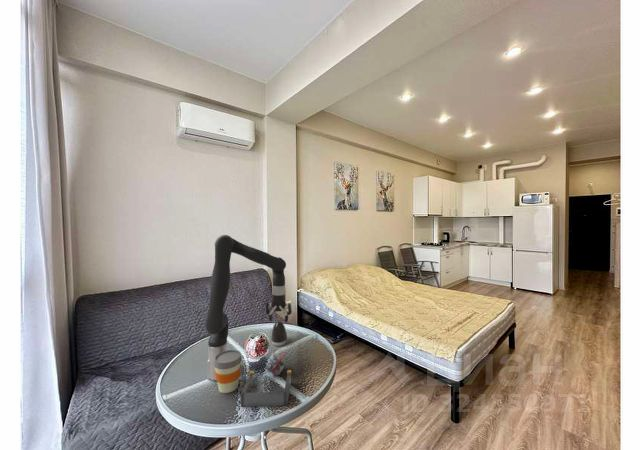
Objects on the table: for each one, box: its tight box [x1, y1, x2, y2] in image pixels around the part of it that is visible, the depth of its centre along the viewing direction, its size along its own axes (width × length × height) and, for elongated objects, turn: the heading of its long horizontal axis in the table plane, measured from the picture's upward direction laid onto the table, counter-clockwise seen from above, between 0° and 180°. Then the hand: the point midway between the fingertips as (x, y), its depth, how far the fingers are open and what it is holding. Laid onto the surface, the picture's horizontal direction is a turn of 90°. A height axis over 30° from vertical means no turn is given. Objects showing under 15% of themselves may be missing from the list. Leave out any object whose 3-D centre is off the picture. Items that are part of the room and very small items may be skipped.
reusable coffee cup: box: [214, 349, 243, 394], centre depth 123 cm, size 13×13×15 cm
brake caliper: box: [265, 352, 286, 376], centre depth 134 cm, size 11×11×12 cm
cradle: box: [240, 369, 292, 408], centre depth 118 cm, size 20×17×6 cm
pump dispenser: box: [270, 319, 288, 347], centre depth 166 cm, size 10×10×15 cm
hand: (278, 321), depth 145 cm, fingers open, 8 cm apart
